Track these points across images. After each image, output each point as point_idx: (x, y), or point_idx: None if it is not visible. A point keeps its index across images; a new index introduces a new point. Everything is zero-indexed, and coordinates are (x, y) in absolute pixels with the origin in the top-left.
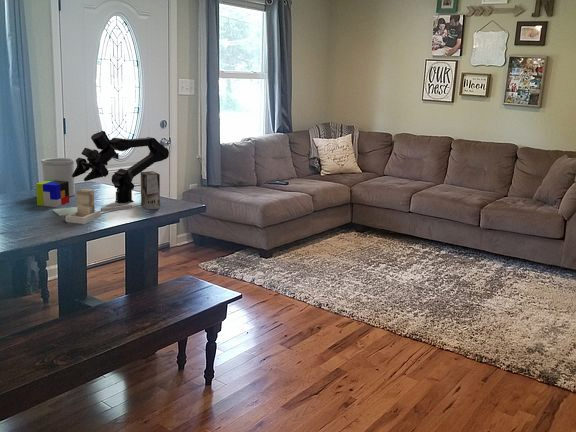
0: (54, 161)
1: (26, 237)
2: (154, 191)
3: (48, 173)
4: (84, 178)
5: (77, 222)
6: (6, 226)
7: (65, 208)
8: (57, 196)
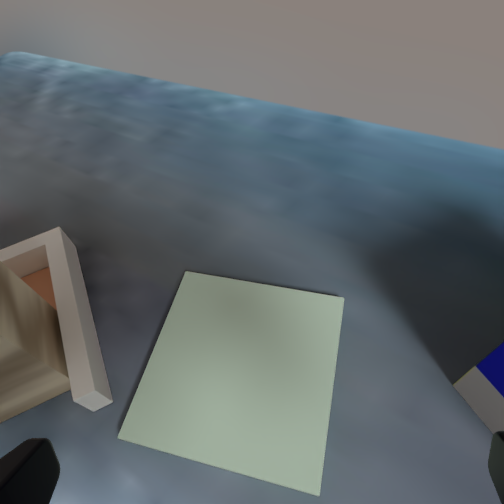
0: None
1: (46, 97)
2: None
3: None
4: (21, 456)
5: None
6: (207, 93)
7: (323, 380)
8: (498, 367)
